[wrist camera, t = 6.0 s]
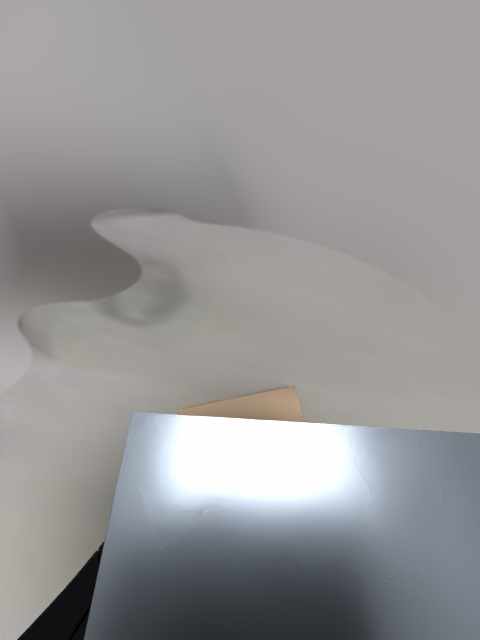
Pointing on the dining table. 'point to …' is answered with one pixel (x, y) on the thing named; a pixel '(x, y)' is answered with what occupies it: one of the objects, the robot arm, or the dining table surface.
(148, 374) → the dining table surface
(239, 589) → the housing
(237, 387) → the dining table surface
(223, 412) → the cork pad
